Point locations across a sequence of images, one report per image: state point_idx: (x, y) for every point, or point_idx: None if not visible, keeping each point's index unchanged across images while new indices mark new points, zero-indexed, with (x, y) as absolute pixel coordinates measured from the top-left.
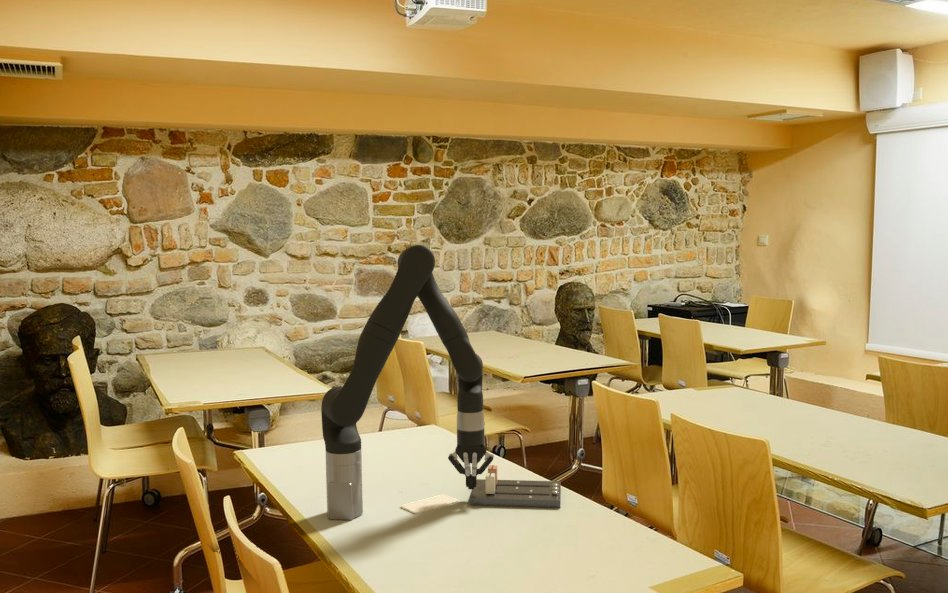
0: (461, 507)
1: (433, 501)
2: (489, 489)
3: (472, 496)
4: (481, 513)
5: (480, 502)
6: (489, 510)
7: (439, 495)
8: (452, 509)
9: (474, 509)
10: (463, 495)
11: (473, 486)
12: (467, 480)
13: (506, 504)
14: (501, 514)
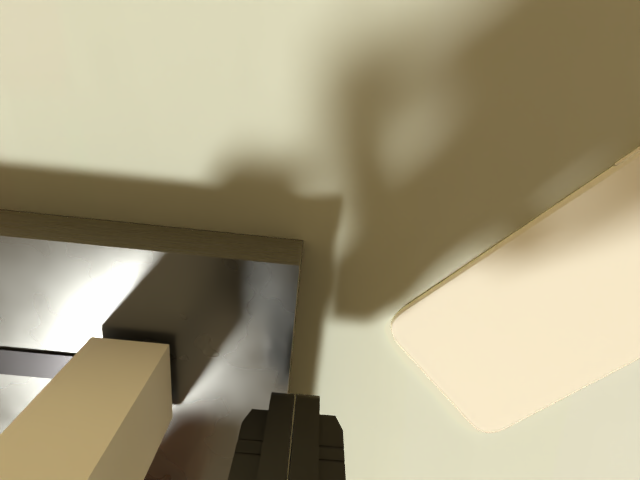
0: (375, 199)
1: (587, 307)
2: (115, 367)
3: (282, 304)
4: (197, 44)
5: (217, 241)
6: (136, 122)
7: (521, 412)
8: (452, 154)
9: (266, 150)
10: (354, 418)
11: (268, 412)
12: (326, 475)
13: (1, 214)
14: (8, 10)
